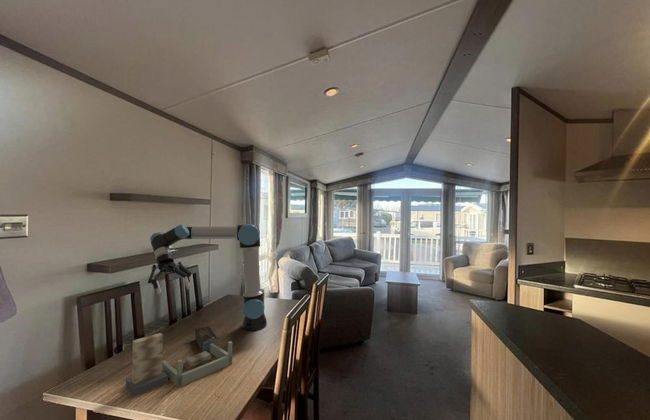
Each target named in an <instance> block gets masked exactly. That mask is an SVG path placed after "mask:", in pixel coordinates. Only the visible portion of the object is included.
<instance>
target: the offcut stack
mask: <svg viewBox="0 0 650 420" xmlns="http://www.w3.org/2000/svg"><path fill="white" fill-rule="evenodd" d="M210 362H212V353H210V352H209V351H204V352H202V351H201V352H199V353H197V354H194V355H191V356H188V357H186V358H185V362H184V363H182V373H185V372H187V371H190V370H192V369H195V368H197V367H200V366H202V365H205V364H207V363H210Z"/></svg>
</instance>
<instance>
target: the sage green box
mask: <svg viewBox="0 0 650 420" xmlns="http://www.w3.org/2000/svg"><path fill="white" fill-rule="evenodd" d="M209 353H210V354H211V355H213V356H215V357H217V358H218V359H214V360H213V361H212V360H211V362H210V363H207V364H205V365H202V366H200V367H197V368H195V369H192V370H190V371H187V372H185V373H182V368H183V359H178V360H176V368H174V367H173V366H172V365H171V364H170V363H169V362H168V361H166V360H165V359H162V371H163V372H164V373H165V374H167V375H168V380H170V381H171V382H173V384H174V385H175V386H176V387H177V388H180V387H181V386H184V385H186V384H189V383H191V382H194V381H196V380H198V379H200V378H202V377H203V378H204V377H205V376H207V375H210V374H211V373H214V372H216V371H220V370H221V369H223V368H226V367H228V366H230V365H233V341H228V342H227V351H226V350H224V349H223V348H221V347H220V346H216V345H215V344H213V343H212V344H210V351H209Z"/></svg>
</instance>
